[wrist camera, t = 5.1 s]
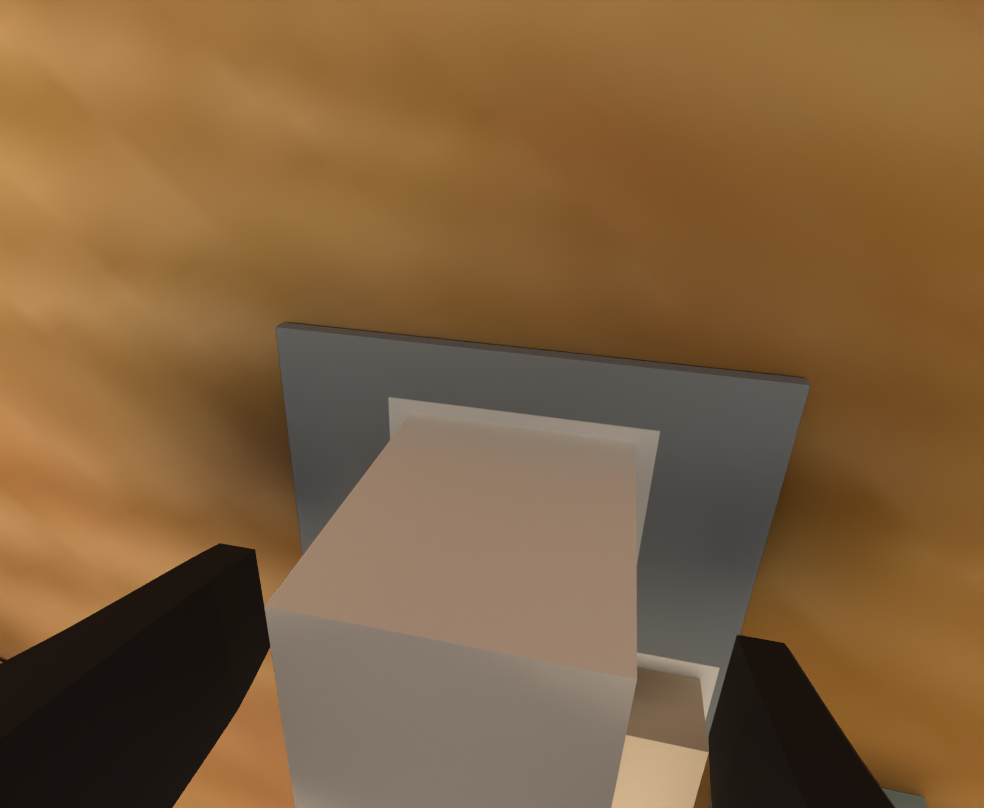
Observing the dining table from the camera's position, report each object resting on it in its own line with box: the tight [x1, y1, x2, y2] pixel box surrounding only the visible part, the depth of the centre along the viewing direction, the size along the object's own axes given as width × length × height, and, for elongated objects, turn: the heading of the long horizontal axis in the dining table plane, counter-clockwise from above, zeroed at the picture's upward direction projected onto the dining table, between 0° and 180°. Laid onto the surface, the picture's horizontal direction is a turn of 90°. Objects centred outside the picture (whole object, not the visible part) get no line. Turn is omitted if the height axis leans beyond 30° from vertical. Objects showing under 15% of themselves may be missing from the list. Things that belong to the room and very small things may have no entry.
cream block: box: [264, 412, 637, 808], centre depth 9 cm, size 4×4×5 cm
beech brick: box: [611, 667, 709, 808], centre depth 13 cm, size 8×5×2 cm, turn 89°
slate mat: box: [276, 322, 810, 746], centre depth 13 cm, size 9×14×1 cm, turn 179°
